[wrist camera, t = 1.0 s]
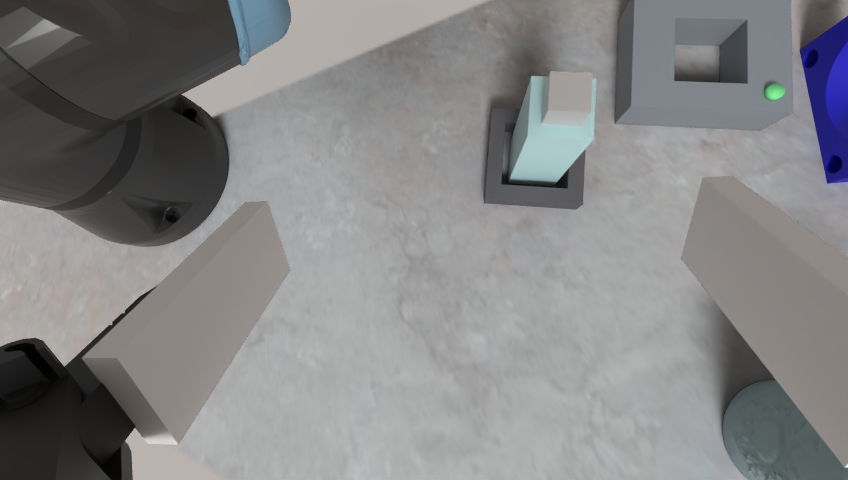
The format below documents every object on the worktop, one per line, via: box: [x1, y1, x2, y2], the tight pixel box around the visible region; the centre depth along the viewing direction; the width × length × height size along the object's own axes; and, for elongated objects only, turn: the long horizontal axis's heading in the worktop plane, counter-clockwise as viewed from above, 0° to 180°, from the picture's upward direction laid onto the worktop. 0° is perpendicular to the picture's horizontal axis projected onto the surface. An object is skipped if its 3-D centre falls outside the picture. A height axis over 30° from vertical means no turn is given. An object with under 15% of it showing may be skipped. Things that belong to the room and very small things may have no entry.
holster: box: [484, 108, 585, 209], centre depth 35 cm, size 8×8×2 cm
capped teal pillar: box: [508, 71, 596, 186], centre depth 30 cm, size 4×4×13 cm
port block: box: [615, 0, 793, 131], centre depth 34 cm, size 12×10×4 cm
